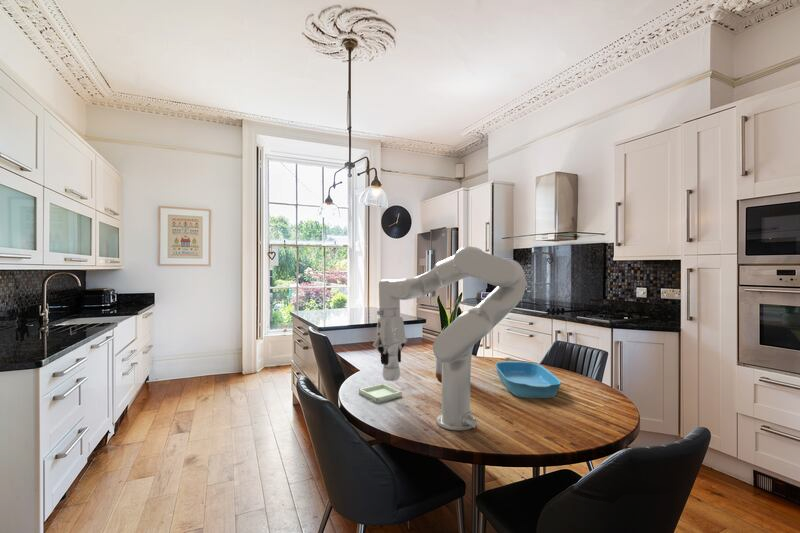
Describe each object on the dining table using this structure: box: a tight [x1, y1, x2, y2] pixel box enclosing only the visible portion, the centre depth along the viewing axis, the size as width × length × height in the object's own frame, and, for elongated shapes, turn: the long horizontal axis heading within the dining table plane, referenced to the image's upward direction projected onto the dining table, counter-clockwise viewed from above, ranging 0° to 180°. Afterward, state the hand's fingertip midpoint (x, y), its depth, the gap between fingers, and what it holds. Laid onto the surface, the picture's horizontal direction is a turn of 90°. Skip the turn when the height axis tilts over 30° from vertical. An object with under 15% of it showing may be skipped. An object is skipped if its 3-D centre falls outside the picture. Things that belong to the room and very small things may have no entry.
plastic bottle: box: [382, 338, 401, 382], centre depth 138 cm, size 6×7×20 cm
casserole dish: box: [495, 360, 562, 399], centre depth 165 cm, size 37×22×7 cm, turn 179°
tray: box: [358, 383, 403, 404], centre depth 153 cm, size 13×12×2 cm
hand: (391, 362), depth 138 cm, fingers closed on plastic bottle, 5 cm apart
